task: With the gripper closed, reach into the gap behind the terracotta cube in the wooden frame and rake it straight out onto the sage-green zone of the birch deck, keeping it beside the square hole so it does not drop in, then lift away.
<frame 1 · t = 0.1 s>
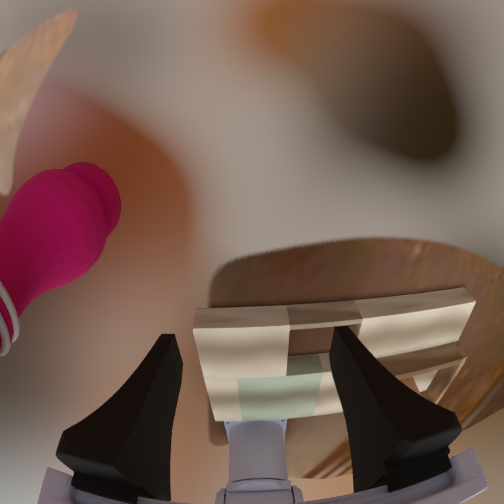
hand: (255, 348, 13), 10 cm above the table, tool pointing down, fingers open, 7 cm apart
pepper mill: (86, 201, 20), on the table
deck: (340, 357, 28), on the table
wooden frame: (405, 388, 26), on the deck, point 4 cm above the table
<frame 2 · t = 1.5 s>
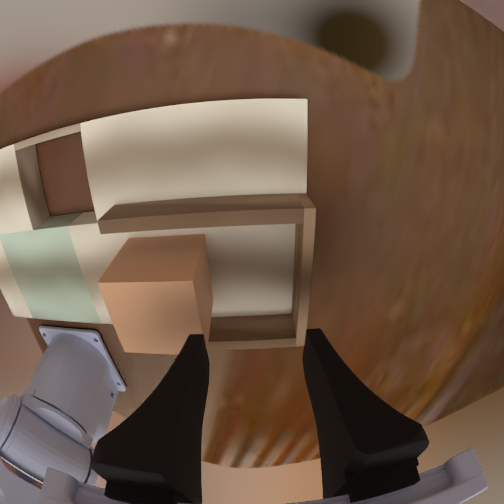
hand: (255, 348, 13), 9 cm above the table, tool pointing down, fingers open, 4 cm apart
deck: (114, 222, 20), on the table
greeting card: (494, 17, 11), on the table
wooden frame: (211, 280, 18), on the deck, point 4 cm above the table
cube: (171, 270, 19), point 2 cm above the table, touching deck
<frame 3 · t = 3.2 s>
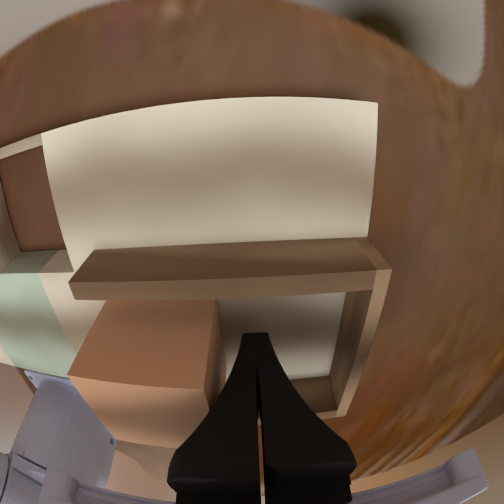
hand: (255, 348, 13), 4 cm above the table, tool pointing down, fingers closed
deck: (99, 263, 15), on the table
wooden frame: (233, 352, 13), on the deck, point 4 cm above the table
cube: (171, 334, 14), point 3 cm above the table, touching gripper
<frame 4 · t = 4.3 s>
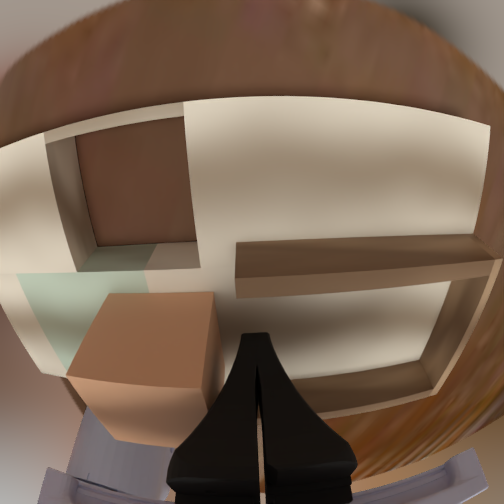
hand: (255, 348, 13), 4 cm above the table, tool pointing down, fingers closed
deck: (209, 258, 15), on the table
wooden frame: (366, 341, 13), on the deck, point 3 cm above the table
cube: (169, 334, 14), point 3 cm above the table, touching deck, gripper
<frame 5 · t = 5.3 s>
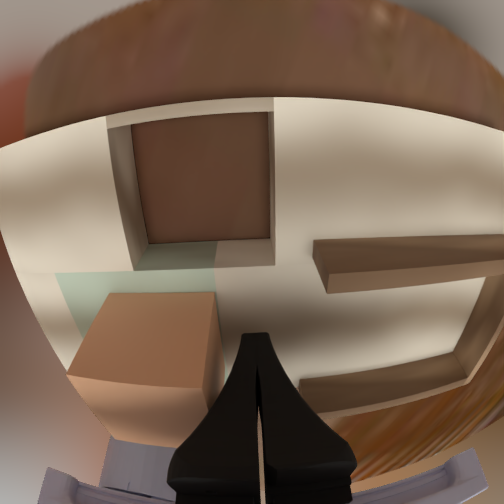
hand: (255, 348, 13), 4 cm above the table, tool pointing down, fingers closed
deck: (270, 256, 15), on the table
wooden frame: (418, 333, 13), on the deck, point 4 cm above the table
cube: (169, 333, 14), point 3 cm above the table, touching deck, gripper
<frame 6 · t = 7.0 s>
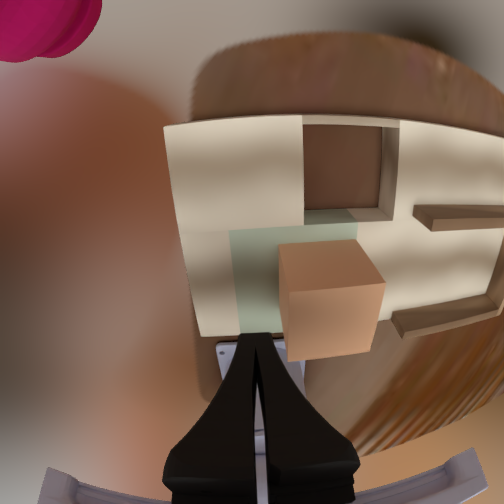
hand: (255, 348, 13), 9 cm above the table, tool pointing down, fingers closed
pepper mill: (67, 19, 12), on the table
deck: (376, 220, 20), on the table
wooden frame: (468, 269, 18), on the deck, point 3 cm above the table
cube: (316, 275, 19), point 2 cm above the table, touching deck
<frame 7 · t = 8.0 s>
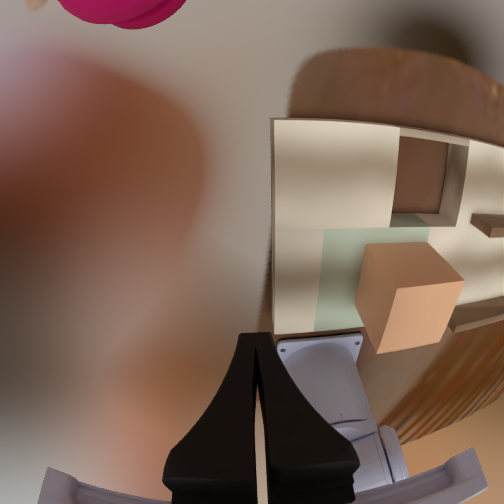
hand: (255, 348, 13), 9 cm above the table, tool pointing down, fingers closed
deck: (436, 225, 21), on the table
cube: (391, 274, 20), point 2 cm above the table, touching deck
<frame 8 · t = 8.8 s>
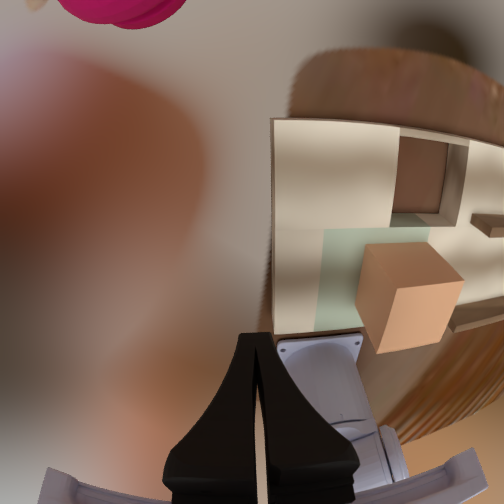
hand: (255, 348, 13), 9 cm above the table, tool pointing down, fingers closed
deck: (436, 225, 21), on the table
cube: (391, 274, 20), point 2 cm above the table, touching deck
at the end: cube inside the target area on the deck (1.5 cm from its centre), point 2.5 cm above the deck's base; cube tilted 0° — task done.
